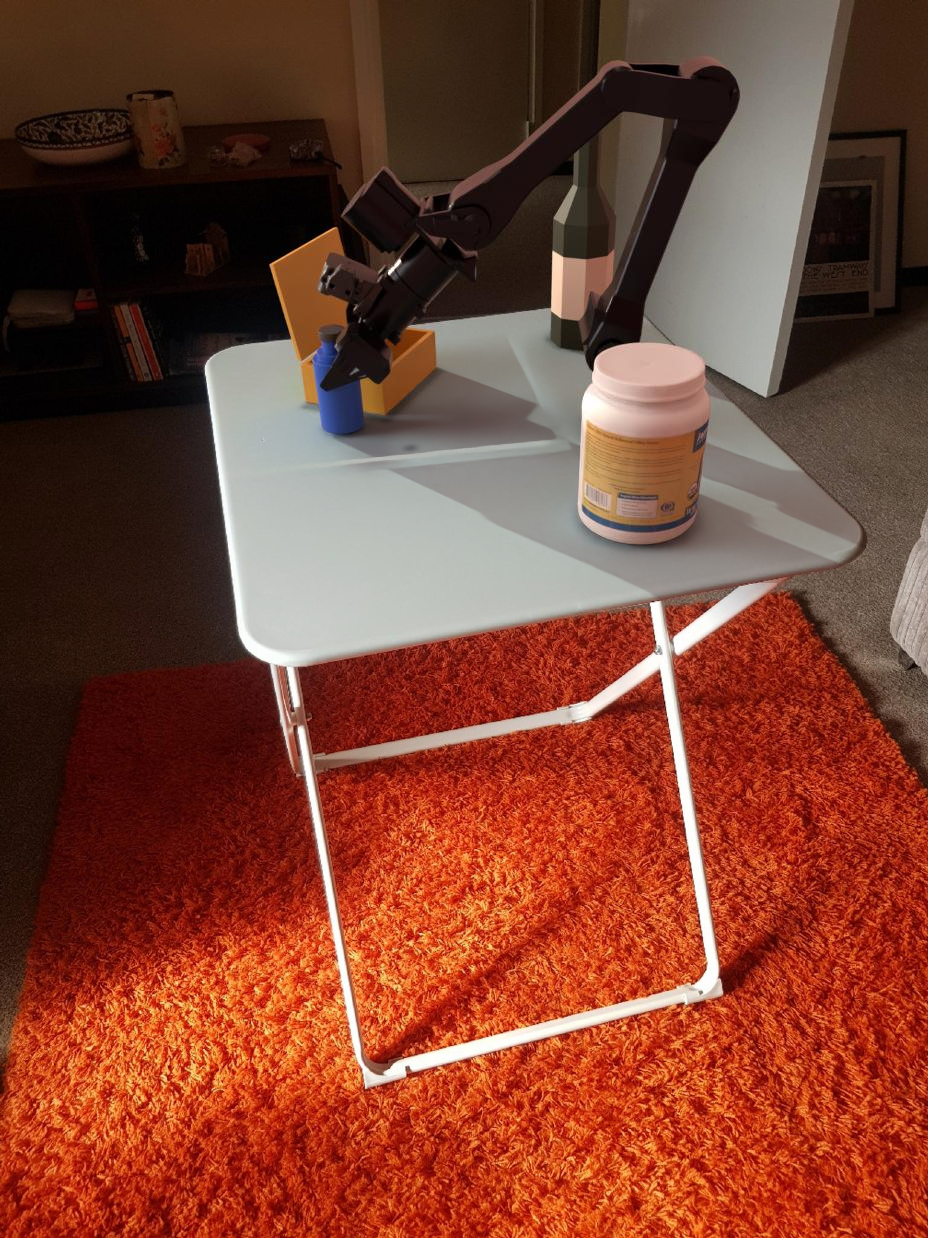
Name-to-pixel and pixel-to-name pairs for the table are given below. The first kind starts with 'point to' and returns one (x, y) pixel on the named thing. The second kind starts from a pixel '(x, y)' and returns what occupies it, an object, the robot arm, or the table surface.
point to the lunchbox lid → (308, 292)
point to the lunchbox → (407, 371)
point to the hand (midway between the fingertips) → (326, 378)
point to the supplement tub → (643, 442)
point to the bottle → (342, 403)
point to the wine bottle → (581, 247)
